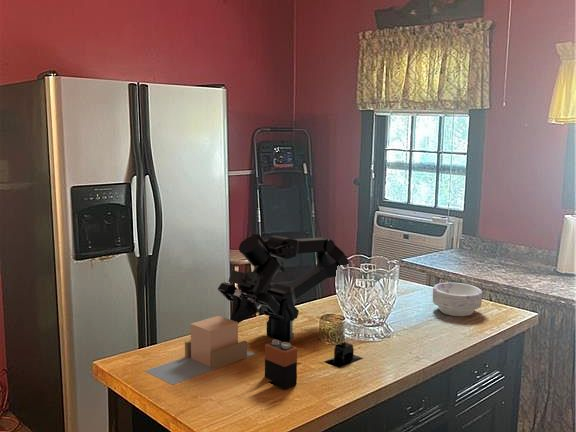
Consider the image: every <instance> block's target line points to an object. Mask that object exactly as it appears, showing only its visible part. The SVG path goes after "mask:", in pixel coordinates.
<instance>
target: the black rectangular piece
mask: <svg viewBox="0 0 576 432" xmlns="http://www.w3.org/2000/svg"><path fill="white" fill-rule="evenodd" d="M333 350H334V351H333V357H332V358H330V359H327V360H323V363H325V364H328V365H331V366H333V367H336V368H339V369H340V368H344V367H346V366H348V365H351V364H353V363H356V362H358V361H361V360H363V359H364V357H361V356H359V355H356V354H354V352H355V351H354V345H353V344H351V343H349V342H346V341H344V342H341V343H338V344H337V343H336V344H335V345H334V349H333Z"/></svg>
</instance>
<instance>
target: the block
mask: <svg viewBox="0 0 576 432" xmlns="http://www.w3.org/2000/svg"><path fill="white" fill-rule="evenodd" d="M230 319H231V318H226V317H223V316H221V315H216V316H212V317H209V318H206V319H202V320H200V321H199V320H198V321H195V322H191V323H190V340H191V359H194V360H196V361H198V362H201V363H203V364H205V365H208V366H210V367H211V352H213V351H216V350H219V349H222V348H225V347H228V346H230V345H233V344H236V343H239V323H238V322H236V321H233V320H230Z"/></svg>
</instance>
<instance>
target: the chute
mask: <svg viewBox="0 0 576 432" xmlns="http://www.w3.org/2000/svg"><path fill="white" fill-rule="evenodd" d="M253 355H256V353H255V352H254V351H253V352H252V351H250V350H248V341H247V340H243V341H240V342H239V341H238V343H236V344H233V345H230V346H228V347H225V348H222V349H219V350H216V351H213V352H211V367H210V366H208V365H205V364H203V363H201V362H198V361H196V360H194V359H191V339H190V340H186V341H184V357H181V358H179V359H175V360H172V361H170V362H167V363H164V364H163V363H162V364H160V365H158V366H154V367H152V368H149V369H146V370H144V372H145V373H147V374H149V375H152V376H153V377H155V378H158V379H160V380H162V381H163V382H166V383H167V384H169V385H173V386H174V385H176V384H179V383H181V382H184V381H187V380H190V379H192V378H195V377H197V376H200V375H203V374H206V373H208V372H211V371H214V370H216V369H218V368H221V367H224V366H226V365H229V364H232V363H234V362H238V361H240V360H242V359H243V360H244V359H246V358H249V357H250V356H253Z"/></svg>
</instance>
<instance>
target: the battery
mask: <svg viewBox="0 0 576 432" xmlns="http://www.w3.org/2000/svg"><path fill="white" fill-rule="evenodd" d="M297 368H298V348H297V347H295V346H293V345H292V344H291V343H290V342H282V341H279V340H276V339H273V340H272V341H271V342H269V343H266V344H265V345H264V378H265V379H268V380H270V381H268V383H269V384H270V385H272V386H275V387H276V388H278V389H282V390H287V389H289V388H292V387H294V386H296V385H297V383H298V382H297V381H298V380H297V378H298V377H297V376H298V375H297V373H298V369H297Z"/></svg>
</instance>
